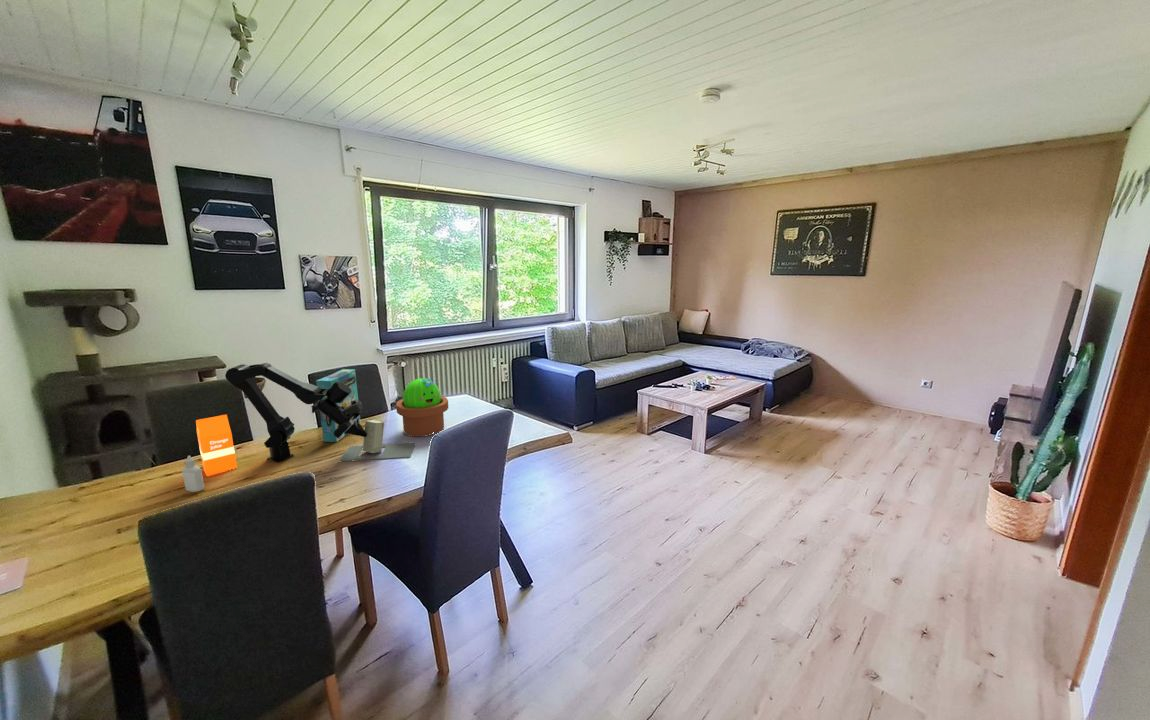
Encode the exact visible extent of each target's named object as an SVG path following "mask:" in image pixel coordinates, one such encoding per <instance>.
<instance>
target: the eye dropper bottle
mask: <svg viewBox="0 0 1150 720" xmlns="http://www.w3.org/2000/svg"><path fill="white" fill-rule="evenodd" d="M195 459H196V458H192V457H191V455H188V456H187V458H186V459H185V461H184V465H185V467H183V468H182V470H181V473H182V479H183V482H184V489H185V491H186V492H190V493H197V492H200V491H202V490H204V489H205V484H204V478H203V477H204V476H203V473H202V468H201V467H199V465H196V460H195Z"/></svg>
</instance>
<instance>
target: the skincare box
mask: <svg viewBox="0 0 1150 720" xmlns="http://www.w3.org/2000/svg"><path fill="white" fill-rule="evenodd" d="M384 427H385V422H384V421H380V420H374V419H372V420H365V423H364V430H365V432H366V433H367V436H366V437H363V440H362V441H363V442H362V443H363V444H362V446H363V449H362V451H361V452H366V453H370V454H376V453H381V452H382V444H383V440H384V439H383V438H384Z"/></svg>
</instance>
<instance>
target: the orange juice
mask: <svg viewBox="0 0 1150 720" xmlns="http://www.w3.org/2000/svg"><path fill="white" fill-rule="evenodd" d="M195 425H196V435H197V441H198V447H199V452H200V456H201V462H202V469H203V472H204V473H205V475H206V476H207V477H210V476H213V475H216V474H220V473H224V472H225V473H226V472H229V471H232V470H231V469H233V470H236V469H238V465H237V464H238V463H237V458H236V451H235V446H234V441H233V434H232V430H231V427H230V423H229V417H228V414H221V415H217V416H212V417H205V418H199V419H196V420H195ZM235 468H236V469H235ZM228 470H229V471H228Z"/></svg>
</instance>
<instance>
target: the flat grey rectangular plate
mask: <svg viewBox="0 0 1150 720" xmlns="http://www.w3.org/2000/svg"><path fill="white" fill-rule="evenodd" d="M415 444H417V442H403V443H402V442H400V443H385V444H383V443H382V447H385V448H384V449H383V451H382V453H381V454H380V455H375V456H373V455H371V456H359V455H360V454H359V453H361V452H362V451H361V450H363V449H362V448H363V445H350V446H349V447H348V448H347V450H346V451H345V452H344V454H343V455H342V456H341V457H340V458H339V460H338V462H339V461H348V462H353V461H352V460H364V461H376V460H392V459H393V460H394V459H405V458H406V459H410V458H411V456H412V455H411V454H413V452H414V449H415V448H416V445H415ZM360 451H361V452H360ZM358 454H359V455H358Z"/></svg>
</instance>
